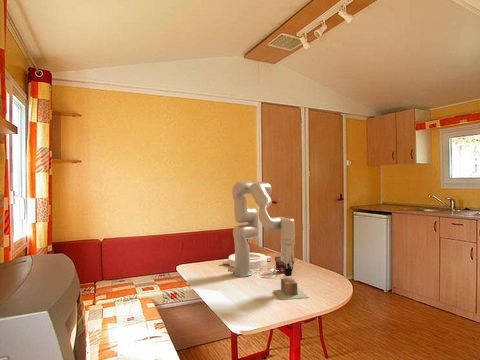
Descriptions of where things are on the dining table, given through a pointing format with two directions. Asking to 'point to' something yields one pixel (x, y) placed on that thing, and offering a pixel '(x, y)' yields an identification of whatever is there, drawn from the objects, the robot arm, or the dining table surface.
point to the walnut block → (289, 286)
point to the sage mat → (284, 297)
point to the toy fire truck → (280, 265)
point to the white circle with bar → (255, 260)
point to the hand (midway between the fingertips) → (288, 275)
